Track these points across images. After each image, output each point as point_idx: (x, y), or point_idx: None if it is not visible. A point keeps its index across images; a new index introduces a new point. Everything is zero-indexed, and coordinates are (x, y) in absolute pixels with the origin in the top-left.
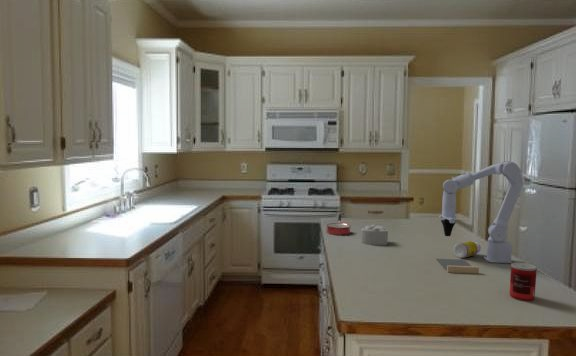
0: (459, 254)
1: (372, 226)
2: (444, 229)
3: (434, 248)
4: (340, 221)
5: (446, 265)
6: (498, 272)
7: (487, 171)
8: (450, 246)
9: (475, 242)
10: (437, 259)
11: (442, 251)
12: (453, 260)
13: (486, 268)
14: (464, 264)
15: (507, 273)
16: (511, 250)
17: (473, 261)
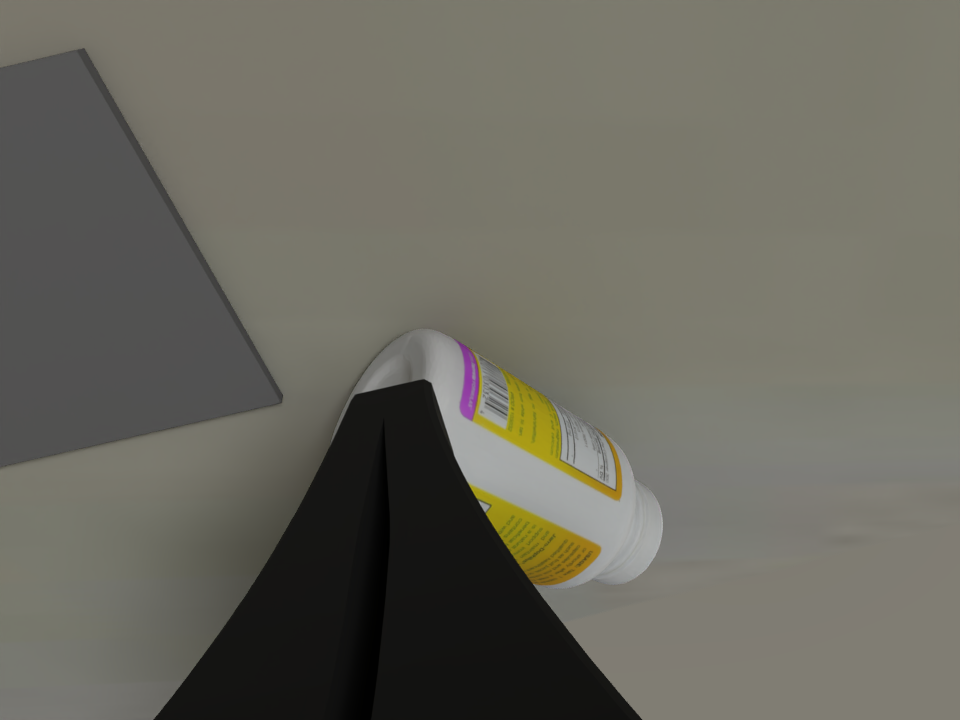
0: (376, 381)
1: None
2: (339, 526)
3: (864, 37)
4: None
5: None
6: (34, 594)
7: None
8: (938, 265)
9: (632, 571)
10: (23, 71)
11: (675, 163)
12: (153, 303)
13: (98, 538)
14: (40, 408)
15: (59, 626)
16: None
17: (300, 460)
